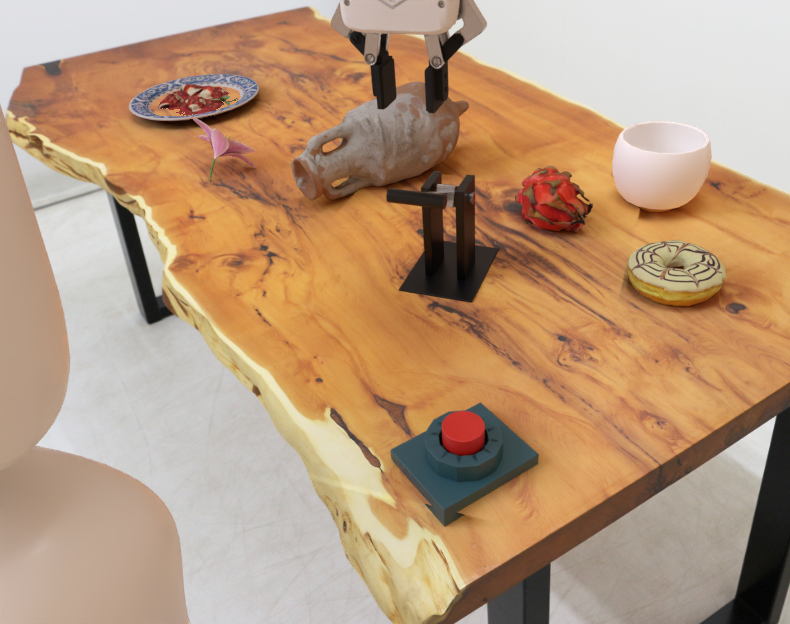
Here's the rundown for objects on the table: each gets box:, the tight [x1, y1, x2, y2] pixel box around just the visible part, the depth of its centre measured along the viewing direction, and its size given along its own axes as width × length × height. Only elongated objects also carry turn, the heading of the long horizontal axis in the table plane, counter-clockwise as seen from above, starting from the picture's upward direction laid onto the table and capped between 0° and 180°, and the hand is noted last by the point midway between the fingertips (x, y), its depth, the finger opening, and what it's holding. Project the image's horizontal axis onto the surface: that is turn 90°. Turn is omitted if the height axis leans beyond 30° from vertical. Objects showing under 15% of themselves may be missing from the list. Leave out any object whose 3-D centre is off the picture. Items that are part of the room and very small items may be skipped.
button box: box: [390, 402, 540, 527], centre depth 62 cm, size 10×8×4 cm
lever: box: [385, 183, 460, 210], centre depth 76 cm, size 13×6×2 cm, turn 158°
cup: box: [611, 120, 713, 213], centre depth 96 cm, size 12×12×10 cm
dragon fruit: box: [514, 165, 594, 233], centre depth 93 cm, size 8×8×12 cm
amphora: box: [290, 80, 470, 201], centre depth 107 cm, size 14×16×30 cm
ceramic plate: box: [128, 73, 260, 122], centre depth 143 cm, size 26×26×3 cm
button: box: [442, 410, 485, 456], centre depth 60 cm, size 4×4×2 cm
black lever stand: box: [398, 170, 500, 304], centre depth 84 cm, size 12×9×13 cm
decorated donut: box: [626, 239, 728, 307], centre depth 82 cm, size 10×11×4 cm
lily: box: [188, 115, 257, 182], centre depth 115 cm, size 12×12×10 cm
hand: (411, 104), depth 65 cm, fingers open, 4 cm apart
